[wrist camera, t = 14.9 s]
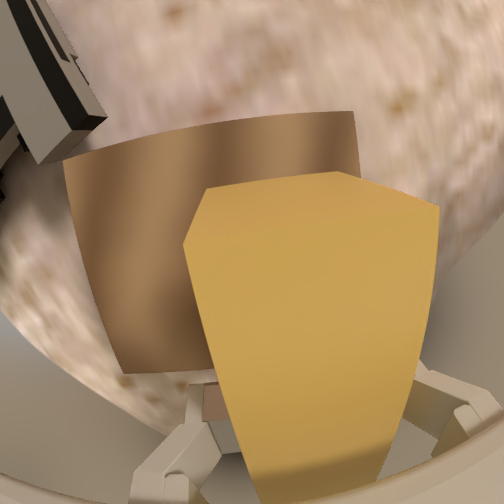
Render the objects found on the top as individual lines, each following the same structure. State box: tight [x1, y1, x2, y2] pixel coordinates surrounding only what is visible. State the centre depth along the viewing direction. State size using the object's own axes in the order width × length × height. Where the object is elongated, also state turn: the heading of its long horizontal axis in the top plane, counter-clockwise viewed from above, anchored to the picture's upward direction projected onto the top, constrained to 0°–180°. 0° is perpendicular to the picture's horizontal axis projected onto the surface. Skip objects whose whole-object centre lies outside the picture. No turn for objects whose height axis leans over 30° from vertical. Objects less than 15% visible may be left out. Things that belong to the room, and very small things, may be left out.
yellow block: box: [183, 171, 440, 504], centre depth 9 cm, size 4×12×5 cm, turn 8°
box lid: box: [63, 111, 361, 374], centre depth 17 cm, size 16×14×1 cm
